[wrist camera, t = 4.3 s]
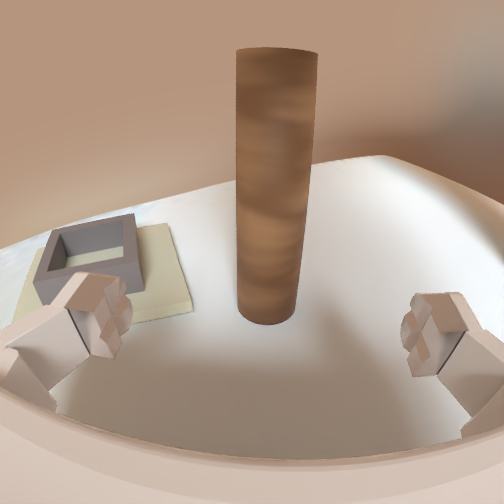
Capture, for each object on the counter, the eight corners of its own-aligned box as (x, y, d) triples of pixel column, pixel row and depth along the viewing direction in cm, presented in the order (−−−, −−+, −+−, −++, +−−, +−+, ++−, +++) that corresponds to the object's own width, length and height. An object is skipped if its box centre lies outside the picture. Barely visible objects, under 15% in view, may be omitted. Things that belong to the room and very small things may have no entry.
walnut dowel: (280, 281, 23) (293, 56, 15) (305, 315, 20) (333, 54, 12) (230, 293, 22) (226, 52, 14) (249, 331, 19) (254, 45, 10)
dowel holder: (168, 231, 30) (164, 199, 28) (193, 311, 20) (187, 269, 19) (40, 257, 25) (30, 227, 24) (14, 343, 16) (-7, 307, 14)
